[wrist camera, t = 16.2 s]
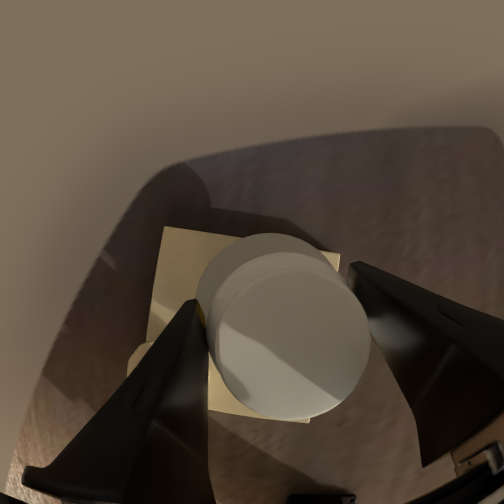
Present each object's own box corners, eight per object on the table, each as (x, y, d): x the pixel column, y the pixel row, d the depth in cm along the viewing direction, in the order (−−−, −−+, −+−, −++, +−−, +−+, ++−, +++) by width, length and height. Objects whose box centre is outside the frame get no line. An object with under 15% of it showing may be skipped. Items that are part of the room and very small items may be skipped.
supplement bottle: (213, 345, 17) (161, 408, 7) (242, 253, 17) (222, 207, 8) (305, 372, 16) (354, 456, 7) (334, 281, 17) (419, 270, 7)
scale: (305, 423, 21) (311, 439, 18) (138, 392, 22) (124, 404, 19) (336, 255, 23) (347, 250, 20) (161, 227, 23) (149, 219, 20)
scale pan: (328, 387, 19) (330, 389, 18) (186, 366, 19) (184, 368, 19) (352, 247, 20) (354, 245, 19) (209, 224, 20) (207, 222, 20)
